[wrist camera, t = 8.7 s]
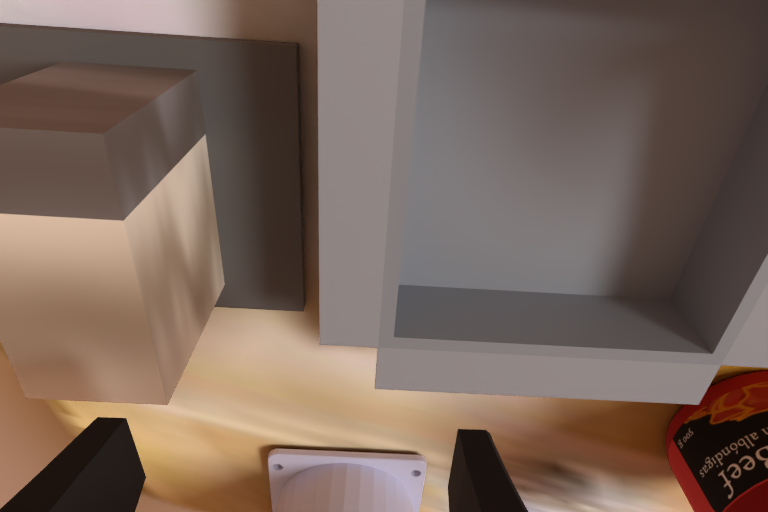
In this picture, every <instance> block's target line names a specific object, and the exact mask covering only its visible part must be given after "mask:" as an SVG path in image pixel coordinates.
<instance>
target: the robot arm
mask: <svg viewBox="0 0 768 512" xmlns="http://www.w3.org/2000/svg"><path fill="white" fill-rule="evenodd" d="M267 461H268V471H269V482H270V493H271V503H272V512H419V509H420V503H421V497H422V492H423V486H424V480H425V474H426V468H427V464H426V459H425V458H424V457H423V456H421V455H411V454H389V453H367V452H346V451H324V450H302V449H280V448H277V449H273V450H271V451H270V452H269V455H268V459H267ZM145 478H146V476H145V473H144V470H143V467H142V464H141V461H140V458H139V455H138V452H137V449H136V446H135V443H134V440H133V437H132V434H131V431H130V429H129V426H128V423H127V420H126V418H101V417H98V418H97V419H95V420H94V421H93V422H92V423H91V424H90V425H89V426H88V427H87V428H86V429H85V430H84V431H83V432H81V433H80V434H79V435H78V436H77V437H76V438H75V439H74V440H73V441H72V442H71V443H70V444H69V445H68V446H67V447H66V448H65V449H64V450H63V451H62V452H61V453H60V454H59V455H58V456H57V457H55V458H54V459H53V460H52V461H51V462H50V463H49V464H48V465H47V466H46V467H45V468H44V469H43V470H42V471H41V472H40V473H39V474H38V475H37V476H36V477H34V478H33V479H32V480H31V481H30V482H29V483H28V484H27V485H26V486H25V487H24V488H23V489H22V490H20V491H19V492H18V493H17V494H16V495H15V496H14V497H13V498H12V499H11V500H10V501H9V502H7V503H6V504H5V505H4V506H3V507H2V508H1V509H0V512H135V509H136V506H137V504H138V500H139V497H140V494H141V491H142V488H143V485H144V481H145ZM448 495H449V511H450V512H528V510H527V509H526V507H525V505H524V503H523V501H522V500H521V498H520V496H519V494H518V492H517V490H516V488H515V486H514V484H513V482H512V480H511V478H510V476H509V474H508V472H507V470H506V468H505V466H504V464H503V462H502V460H501V458H500V456H499V453H498V451H497V449H496V447H495V445H494V442H493V440H492V437H491V435H490V433H489V432H487V431H486V430H467V429H458V433H457V438H456V444H455V450H454V455H453V461H452V467H451V472H450V478H449V484H448Z"/></svg>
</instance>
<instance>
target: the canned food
mask: <svg viewBox="0 0 768 512" xmlns="http://www.w3.org/2000/svg"><path fill="white" fill-rule="evenodd" d="M666 449H667V454H668V460H669V463H670V466H671V469H672V471H673V473H674V475H675V476H676V478H677V480H678V482H679V484H680V486H681V488H682V490H683V491H684V493H685V495H686V497H687V499H688V501H689V503H690V505H691V506H692V508H693V510H694V512H768V371H761V372H753V373H748V374H743V375H738V376H735V377H732V378H729V379H726V380H723V381H721V382H719V383H717V384H714V385H712V386H710V387H708V389H707V391H706V393H705V394H704V396H703V398H702V400H701V401H700V403H699V405H692V404H685V405H684V406H683V407H682V408H681V409H680V410H679V411H678V413H677V414H676V415H675V416H674V418H673V420H672V421H671V423H670V425H669V427H668V430H667V434H666Z"/></svg>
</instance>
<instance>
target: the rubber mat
mask: <svg viewBox="0 0 768 512" xmlns="http://www.w3.org/2000/svg"><path fill="white" fill-rule="evenodd" d="M64 61H66V62H81V63H96V64H112V65H127V66H142V67H157V68H172V69H187V70H197V72H198V80H199V88H200V96H201V103H202V111H203V119H204V127H205V135H206V142H207V150H208V158H209V166H210V174H211V181H212V189H213V197H214V205H215V213H216V220H217V228H218V236H219V244H220V251H221V259H222V267H223V275H224V283H225V285H224V287H223V289H222V291H221V293H220V296H219V298H218V300H217V302H216V304H215V306H214V307H229V308H248V309H267V310H285V311H304V307H305V279H304V240H303V201H302V162H301V123H300V84H299V45H298V43H286V42H271V41H257V40H242V39H227V38H212V37H198V36H183V35H168V34H153V33H139V32H124V31H109V30H94V29H80V28H65V27H50V26H35V25H21V24H6V23H0V85H1V84H4V83H7V82H10V81H12V80H15V79H18V78H20V77H23V76H26V75H28V74H31V73H34V72H37V71H39V70H42V69H45V68H47V67H50V66H53V65H55V64H58V63H61V62H64Z"/></svg>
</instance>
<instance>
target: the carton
mask: <svg viewBox="0 0 768 512" xmlns="http://www.w3.org/2000/svg"><path fill="white" fill-rule="evenodd" d="M317 42H318V186H319V330H320V345H336V346H356V347H375V348H378V351H377V364H376V378H375V389H387V390H407V391H428V392H448V393H468V394H489V395H509V396H529V397H550V398H570V399H590V400H611V401H631V402H651V403H672V404H692V405H699V403H700V401H701V400H702V398H703V396H704V394H705V393H706V391H707V389H708V387H709V386H710V384H711V382H712V380H713V379H714V377H715V375H716V373H717V372H718V370H719V368H720V366H721V365H725V366H744V367H764V368H768V0H317Z"/></svg>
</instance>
